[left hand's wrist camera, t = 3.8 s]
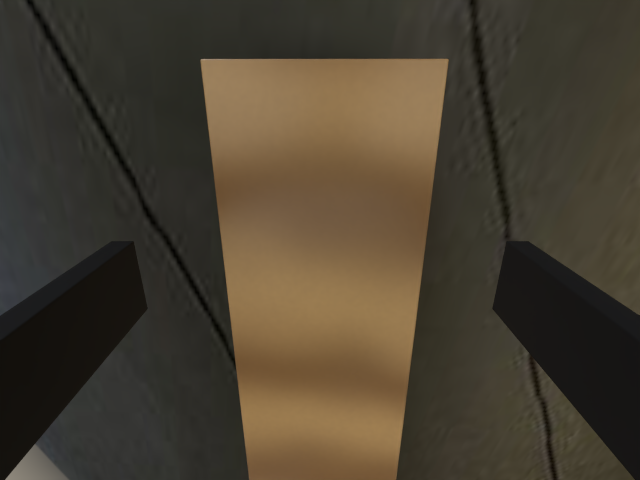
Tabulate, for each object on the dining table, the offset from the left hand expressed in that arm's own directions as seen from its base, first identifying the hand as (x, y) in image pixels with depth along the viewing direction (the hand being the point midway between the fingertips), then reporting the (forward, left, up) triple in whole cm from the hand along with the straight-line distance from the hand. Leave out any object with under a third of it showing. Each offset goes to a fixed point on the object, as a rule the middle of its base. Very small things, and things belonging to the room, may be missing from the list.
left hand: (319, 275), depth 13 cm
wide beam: (+13, +23, -11) cm, 28 cm away
